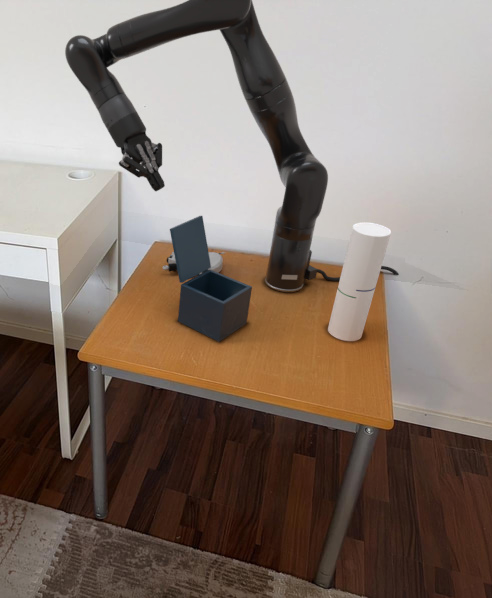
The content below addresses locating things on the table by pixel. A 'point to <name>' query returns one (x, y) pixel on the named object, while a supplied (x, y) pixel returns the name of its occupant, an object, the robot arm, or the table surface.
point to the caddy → (214, 304)
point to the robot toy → (216, 266)
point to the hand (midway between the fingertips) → (160, 188)
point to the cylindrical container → (358, 280)
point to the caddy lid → (190, 248)
